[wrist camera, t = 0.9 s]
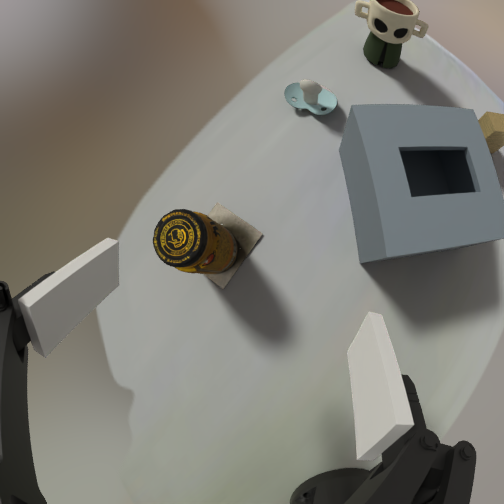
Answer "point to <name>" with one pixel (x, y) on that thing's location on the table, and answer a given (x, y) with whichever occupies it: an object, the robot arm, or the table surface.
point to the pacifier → (311, 97)
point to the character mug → (389, 28)
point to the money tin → (419, 180)
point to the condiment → (205, 242)
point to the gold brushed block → (493, 130)
